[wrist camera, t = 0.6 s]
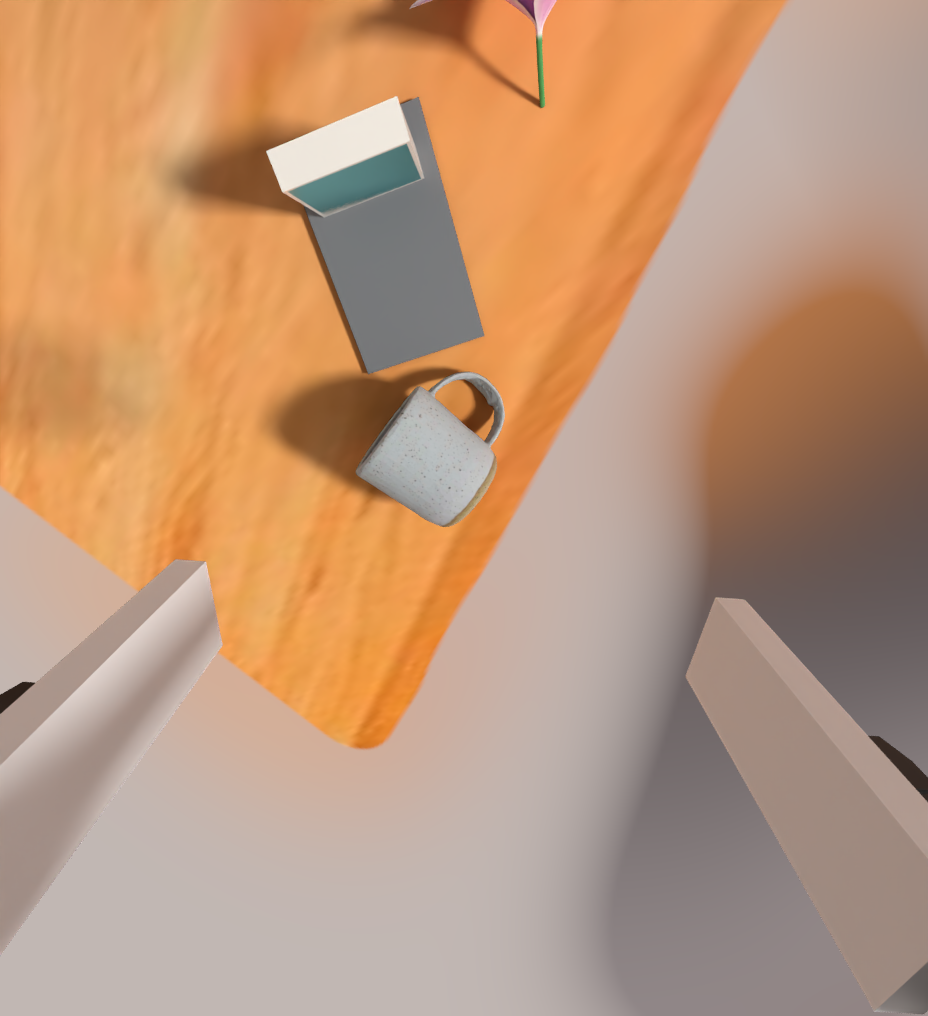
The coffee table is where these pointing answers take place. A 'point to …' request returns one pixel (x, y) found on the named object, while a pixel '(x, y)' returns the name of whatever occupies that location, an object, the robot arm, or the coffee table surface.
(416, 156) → the tile
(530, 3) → the lily
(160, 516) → the coffee table surface
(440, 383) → the ceramic mug
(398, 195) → the mat
